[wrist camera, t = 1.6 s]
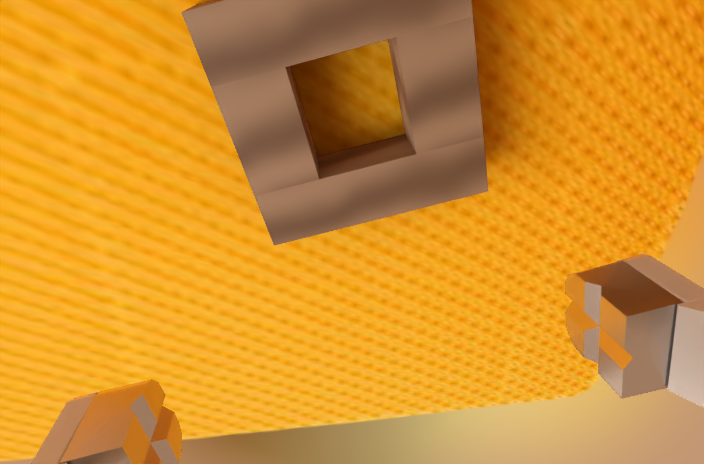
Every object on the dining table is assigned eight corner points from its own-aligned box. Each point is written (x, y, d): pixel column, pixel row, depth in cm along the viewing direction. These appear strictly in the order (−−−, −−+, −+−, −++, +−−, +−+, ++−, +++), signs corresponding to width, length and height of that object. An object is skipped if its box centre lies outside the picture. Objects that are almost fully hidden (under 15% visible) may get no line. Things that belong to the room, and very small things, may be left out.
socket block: (195, 5, 36) (181, 12, 32) (445, -65, 35) (465, -68, 31) (276, 218, 47) (274, 245, 42) (471, 168, 46) (488, 191, 42)
